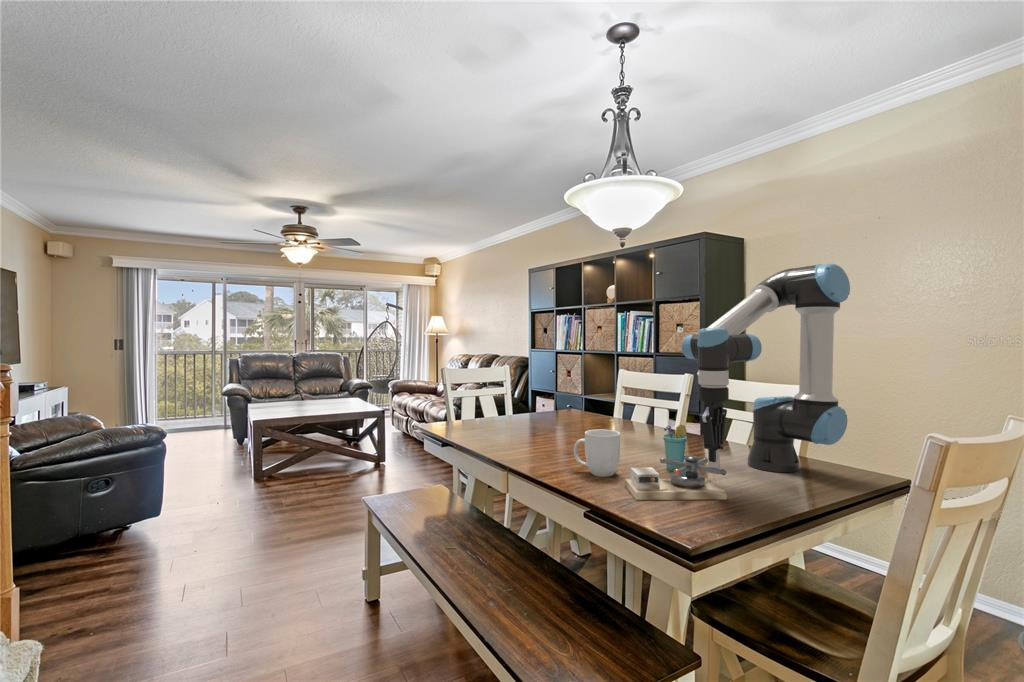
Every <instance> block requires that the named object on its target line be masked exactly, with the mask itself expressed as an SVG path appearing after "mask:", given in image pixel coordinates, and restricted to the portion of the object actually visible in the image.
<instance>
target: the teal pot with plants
mask: <svg viewBox="0 0 1024 682" xmlns="http://www.w3.org/2000/svg"><path fill="white" fill-rule="evenodd" d="M663 430H664V432H666V431H667V430H668V432H669V433H668V434H667V433H666V434H663V435H662V437H663V441H664V448H665V452H664V453H665V459H669V460H674V461H680V462H685V459H684V456H685V452H686V442H687V439H688V438H687V432H688V430H687V428H686V426H685V425H684V424H678V425H677V426H676V427H675V432H674V433H673V431H672V426H671V425H670V424H668V425H667V426H665V428H663ZM679 468H681V467H680V466H675V465H670V464H666V470H668V471H672V472H674V470H675V469H679Z"/></svg>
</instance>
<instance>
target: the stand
mask: <svg viewBox="0 0 1024 682" xmlns="http://www.w3.org/2000/svg"><path fill="white" fill-rule="evenodd" d="M624 486H625V488H626V489H627V490H628V492H629V493H630V494H631V496H632V497H633V498H634V499H635V501H656V500H657V501H659V500H660V501H661V500H663V501H667V500H670V501H672V500H673V501H676V500H677V501H678V500H683V501H684V500H692V501H693V500H694V501H695V500H697V501H699V500H727V498H728V495H727V494H728V493H727V491H726V490H725V489H723V488H722V487H721V486H720V485H718V484H716V483H715V482H714V481H712V480H710V479H709V478H705V486H703V487H700V488H685V487H680V486H676V485H674V484H672V483H671V482H670V478H660V473H659V472H657V471H656V470H655V469H654V468H653V467H649V466H648V467H643V466H642V467H630V478H625V479H624Z"/></svg>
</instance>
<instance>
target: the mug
mask: <svg viewBox="0 0 1024 682" xmlns="http://www.w3.org/2000/svg"><path fill="white" fill-rule="evenodd" d="M580 443H584V456H585V461H586V462H585V461H583V460H581V458H580V457H579V454H578V447H579V444H580ZM573 457H574V458H575V460H576V462H577V463H578V464H580V465H582V466H585V467H587V468H588V470H589V471H590V473H591V474H592V475H593V476H595V477H598V478H599V477H602V478H607V477H611V476H614V474H615V472H616V470H617V468H618V466H619V462H620V457H621V433H620V432H619V431H618V430H612V429H603V428H602V429H599V428H598V429H596V428H595V429H588V430H586V431H585V432H584V438H580V439H578V440H577V441H576V442H575V443H574V446H573Z"/></svg>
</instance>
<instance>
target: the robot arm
mask: <svg viewBox="0 0 1024 682" xmlns="http://www.w3.org/2000/svg"><path fill="white" fill-rule="evenodd" d="M850 293H851V283H850V279H849V276H848V275H847V273H846V271H845V270H844V269H843V267H841V266H840V265H838V264H835V263H821V264H820V263H819V264H814V265H807V266H801V267H800V266H799V267H794V268H793V267H791V268H787V269H784V270H783V269H782V270H781V271H778V272H775V273H774V274H772V275H771V276H769V277H767V278H766V279H764V280H763V281H761V282H759V283H758V284H757V285H755V286H754V287H753V288H752V289H751V290H750V292H749V295H748V296H747V297H745V298H744V299H743V300H741V301H740V302H739V303H737V304H736V305H735V306H733V307H732V308H731V309H730V310H728V311H727V312H726V313H725V314H723V315H722V316H720V317H719V318H718V319H716V321H714V322H713V323H711V324H710V325H708V327H706V328H704V327H703V328H701V329H699V330H698V333H697V334H695V333H693V334H690V335H689V334H688V335H686V336H685V337H683V339H682V342H681V346H680V347H681V351H682V354H683V356H685V358H687V359H691V360H696V361H697V365H698V366H697V373H696V375H697V379H698V380H697V381H698V385H699V386H698V387H697V390H698V391H697V393H698V394H697V396H698V397H697V398H698V400H699V401H702V402H703V409H702V410H703V412H702V414H699V417H698V418H699V421H700V425H701V433H702V441H703V449H705V450H707V459H708V462H707V465H708V466H707V467H711V468H716V469H721V468H720V467H721V466H720V465H721V463H720V461H721V457H720V456H721V455H720V451H721V450H723V449H724V446H723V445H724V438H725V428H726V427H725V425H726V417H727V413H728V410H727V409H726V408H724V403H726V402H728V401H729V399H730V398H729V395H730V393H729V392H730V391H729V389H730V388H729V387H728V385H729V384H730V380H729V378H730V377H729V375H730V374H729V363H736V362H739V363H740V362H745V363H747V362H751V361H754V360H757V359H758V358H759V357H760V356H761V353H762V352H763V351H762V349H763V348H762V341H761V340H760V339H759V337H757V336H756V335H754V334H752V333H751V334H749V333H748V334H747V333H743V332H744V331H746V330H747V329H748V328H750V326H751V325H753V324H754V323H755V322H757V321H758V320H759V319H760V318H761V317H762V316H764V315H765V314H767V313H771V312H774V311H776V310H777V309H778V308H781V307H785V306H792V305H793V306H794V305H795V306H794V307H795V308H794V309H795V311H796V312H797V313H798V314H799V315H800V329H799V330H800V333H799V335H800V336H799V337H800V341H799V379H798V380H799V386H798V387H799V389H798V390H799V391H798V393H796V394H795V395H794V396H788V395H786V396H783V395H782V396H766V397H765V396H764V397H757V398H755V400H754V401H753V408H752V409H753V410H752V413H753V414H752V415H753V421H752V422H753V442H752V445H751V448H750V450H749V453H748V456H747V465H748V466H750V467H752V468H754V469H758V470H761V471H766V472H767V471H768V472H774V473H775V472H776V473H793V472H794V473H795V472H799V471H800V470H801V469H800V467H801V464H800V459H799V457H798V455H797V451H796V449H795V445H794V440H798V441H802V442H804V441H805V442H809V443H813V444H815V445H826V446H832V445H834V444H836V443H838V442H839V441H840V440H841V439H842V438H843V437H844V434H845V433H846V429H847V427H848V415H847V414H846V410H845V409H844V408H842V407H841V406H839V399H838V398H837V397H836V396H835V395H834V394H833V381H834V379H833V378H834V377H833V375H834V331H835V329H834V328H835V325H834V323H835V321H834V320H835V318H834V317H835V315H836V313H837V312H838V311H840V310H841V303H842V302H843V303H844V302H845V301H846V300H848V298H849V295H850ZM741 333H742V334H741ZM707 473H710V474H715V475H717V474H716V473H711V472H707Z"/></svg>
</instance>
